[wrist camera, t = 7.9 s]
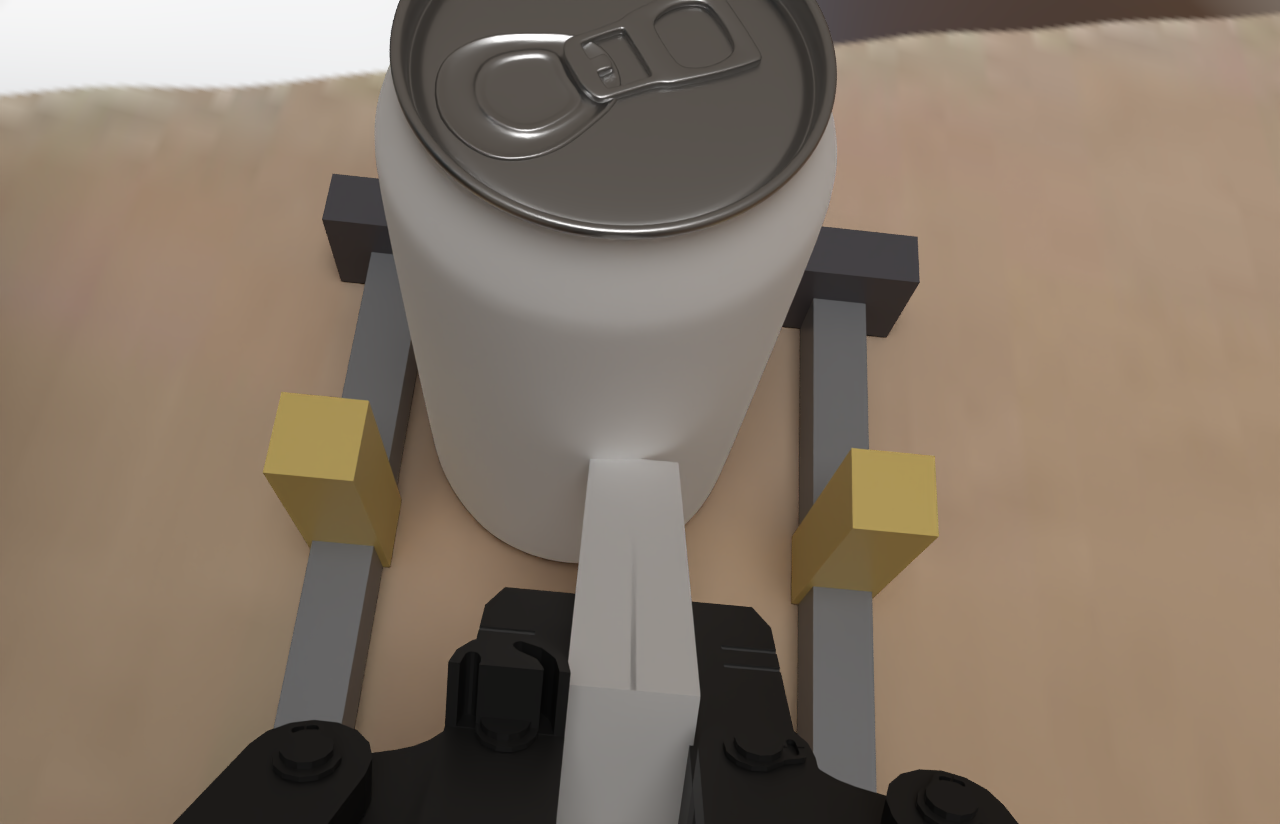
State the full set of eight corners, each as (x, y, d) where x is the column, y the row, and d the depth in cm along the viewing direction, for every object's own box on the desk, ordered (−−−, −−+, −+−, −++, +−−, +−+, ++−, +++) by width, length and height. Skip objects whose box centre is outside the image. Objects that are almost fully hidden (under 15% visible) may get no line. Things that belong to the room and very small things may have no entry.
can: (392, 365, 25) (279, -64, 14) (646, 269, 26) (722, -181, 16) (506, 620, 23) (477, 347, 12) (775, 498, 24) (969, 158, 13)
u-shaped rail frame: (138, 1214, 18) (3, 1316, 13) (350, 237, 26) (310, 95, 21) (915, 1261, 19) (1037, 1375, 14) (885, 294, 27) (956, 167, 22)
